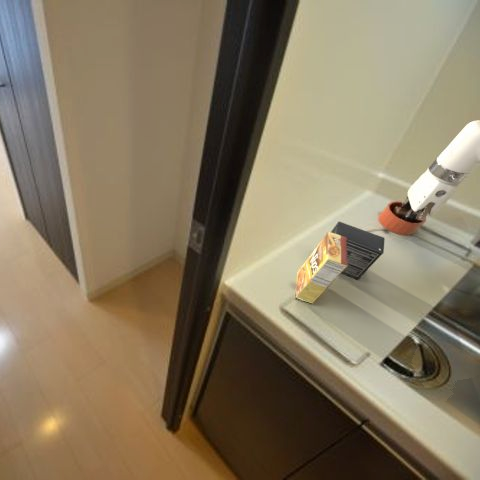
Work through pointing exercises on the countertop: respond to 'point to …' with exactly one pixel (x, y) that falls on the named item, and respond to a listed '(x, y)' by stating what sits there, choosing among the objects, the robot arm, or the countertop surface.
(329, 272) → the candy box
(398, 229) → the bowl
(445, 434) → the countertop surface
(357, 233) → the small box
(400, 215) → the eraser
